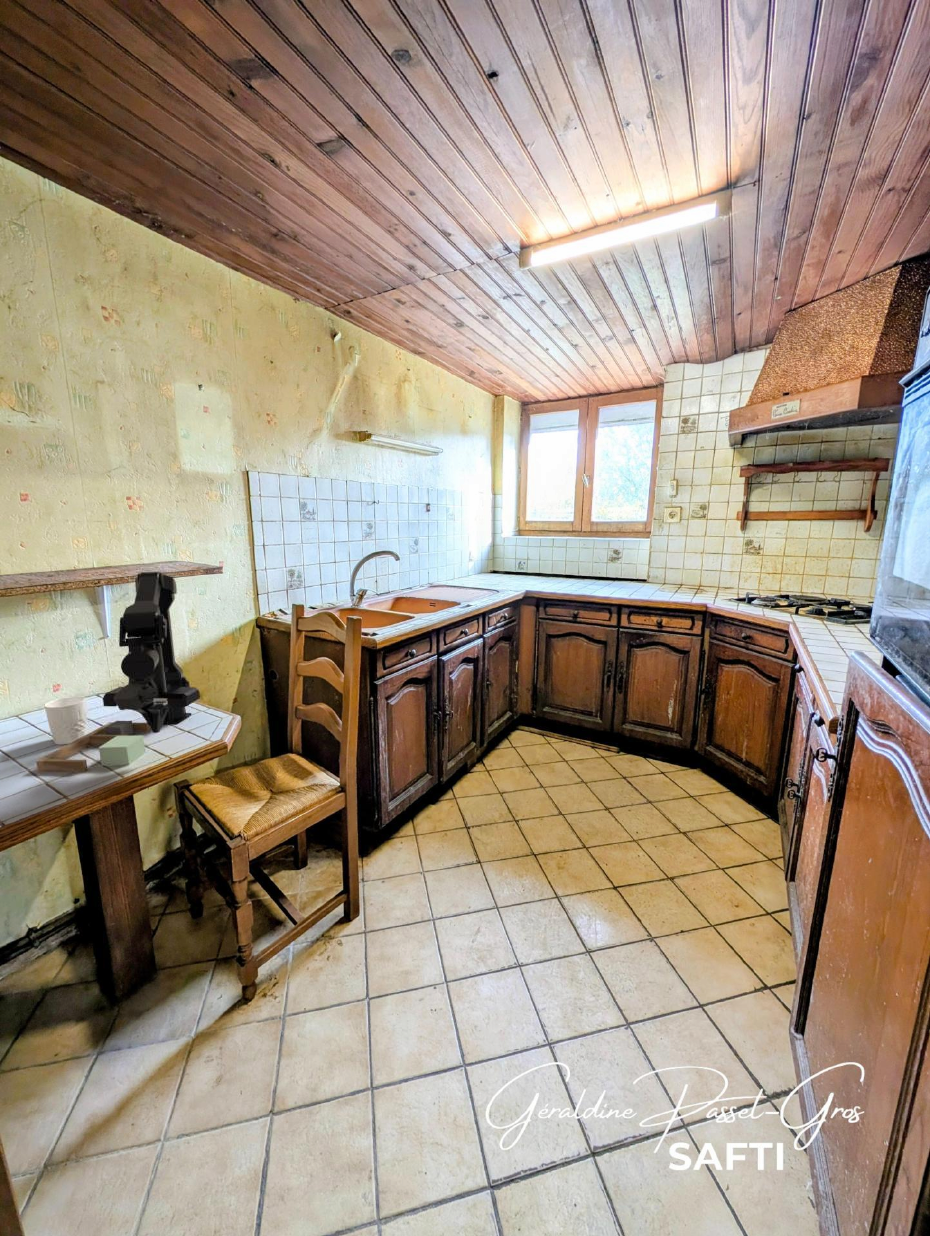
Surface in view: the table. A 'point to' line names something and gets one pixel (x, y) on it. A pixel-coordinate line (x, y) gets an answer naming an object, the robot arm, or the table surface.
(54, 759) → the walnut slot rack
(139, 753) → the sage green block
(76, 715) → the white cup
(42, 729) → the table surface
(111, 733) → the slate grey cube
